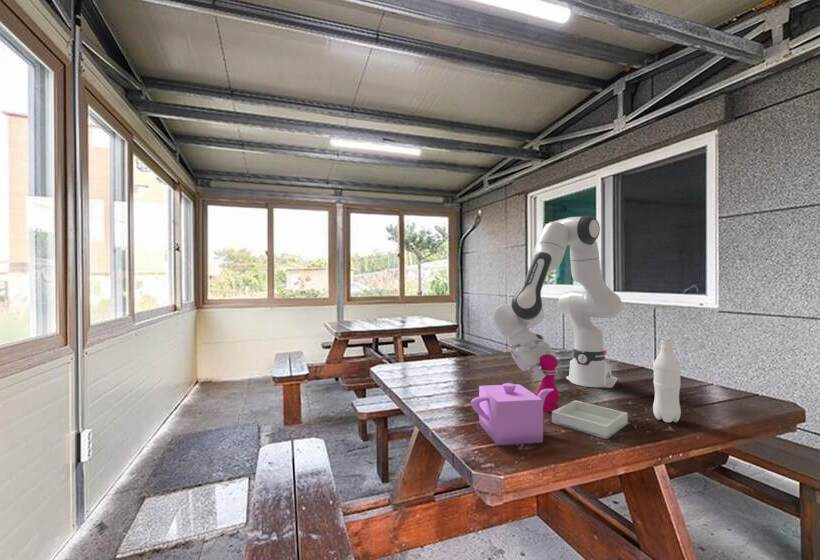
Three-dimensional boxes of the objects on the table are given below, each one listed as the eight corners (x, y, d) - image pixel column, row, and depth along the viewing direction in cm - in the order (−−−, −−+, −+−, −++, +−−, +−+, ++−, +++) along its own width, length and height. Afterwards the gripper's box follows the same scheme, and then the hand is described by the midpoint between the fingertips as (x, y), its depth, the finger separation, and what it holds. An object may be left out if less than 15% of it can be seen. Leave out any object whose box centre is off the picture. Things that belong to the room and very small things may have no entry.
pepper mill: (559, 413, 124) (559, 352, 124) (536, 410, 126) (536, 351, 126) (559, 406, 130) (559, 348, 130) (537, 404, 133) (537, 347, 133)
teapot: (567, 441, 103) (567, 390, 103) (479, 446, 100) (479, 394, 100) (540, 420, 118) (541, 375, 118) (463, 424, 115) (463, 378, 115)
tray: (575, 410, 127) (575, 400, 126) (627, 424, 115) (627, 412, 115) (551, 422, 116) (551, 411, 116) (606, 439, 104) (606, 426, 104)
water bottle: (685, 425, 114) (685, 342, 114) (659, 423, 115) (659, 341, 115) (673, 416, 121) (674, 338, 121) (649, 415, 122) (649, 338, 122)
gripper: (513, 341, 126) (540, 375, 119) (544, 334, 140) (569, 365, 133) (502, 352, 130) (527, 386, 123) (533, 345, 143) (557, 375, 136)
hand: (549, 375), depth 128 cm, fingers open, 6 cm apart
